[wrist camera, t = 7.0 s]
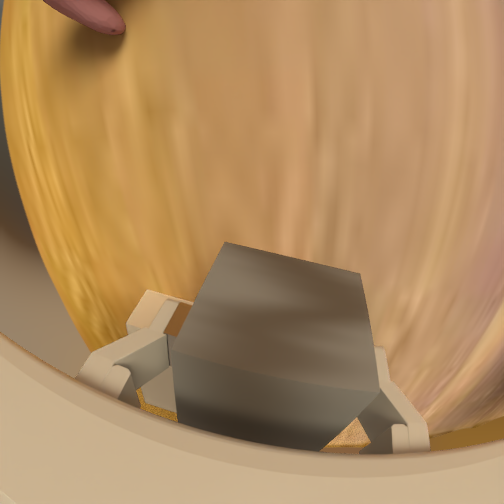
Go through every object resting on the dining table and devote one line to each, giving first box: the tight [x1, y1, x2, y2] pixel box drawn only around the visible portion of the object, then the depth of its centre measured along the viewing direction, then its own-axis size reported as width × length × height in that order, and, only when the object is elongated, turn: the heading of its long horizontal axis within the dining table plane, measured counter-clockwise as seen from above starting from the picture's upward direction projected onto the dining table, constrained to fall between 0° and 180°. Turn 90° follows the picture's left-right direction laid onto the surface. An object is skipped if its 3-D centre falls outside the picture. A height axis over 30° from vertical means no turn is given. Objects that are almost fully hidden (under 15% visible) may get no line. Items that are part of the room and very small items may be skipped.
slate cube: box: [171, 242, 380, 452], centre depth 9 cm, size 5×5×5 cm
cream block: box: [126, 289, 194, 413], centre depth 22 cm, size 12×12×4 cm
